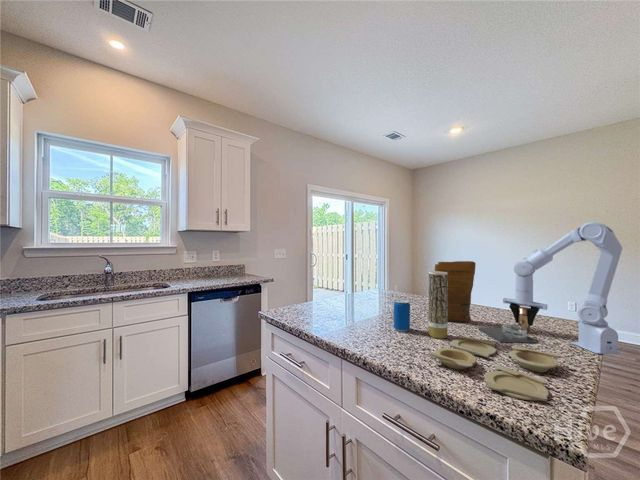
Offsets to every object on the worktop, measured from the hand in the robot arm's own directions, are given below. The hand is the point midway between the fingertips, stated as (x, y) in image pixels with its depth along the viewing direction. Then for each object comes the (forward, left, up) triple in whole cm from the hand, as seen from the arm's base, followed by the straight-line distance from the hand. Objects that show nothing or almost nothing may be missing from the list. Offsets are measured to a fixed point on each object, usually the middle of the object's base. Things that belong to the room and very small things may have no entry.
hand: (524, 323), depth 110 cm
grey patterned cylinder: (-6, +38, -4) cm, 39 cm away
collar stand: (-5, +11, -3) cm, 13 cm away
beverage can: (+1, +50, -4) cm, 50 cm away
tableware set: (-29, +32, -4) cm, 44 cm away
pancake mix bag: (+14, +22, -4) cm, 26 cm away
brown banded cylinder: (0, 0, -2) cm, 2 cm away
